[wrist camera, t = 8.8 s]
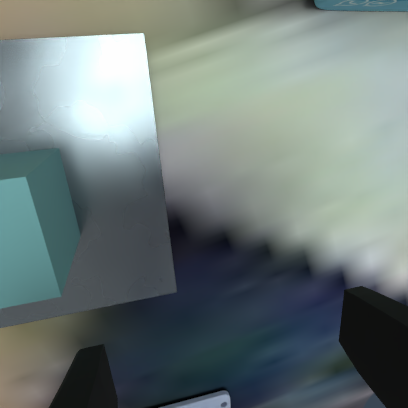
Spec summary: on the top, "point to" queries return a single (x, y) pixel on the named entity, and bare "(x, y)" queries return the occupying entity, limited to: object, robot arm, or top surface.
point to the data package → (363, 5)
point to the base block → (93, 163)
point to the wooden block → (35, 227)
